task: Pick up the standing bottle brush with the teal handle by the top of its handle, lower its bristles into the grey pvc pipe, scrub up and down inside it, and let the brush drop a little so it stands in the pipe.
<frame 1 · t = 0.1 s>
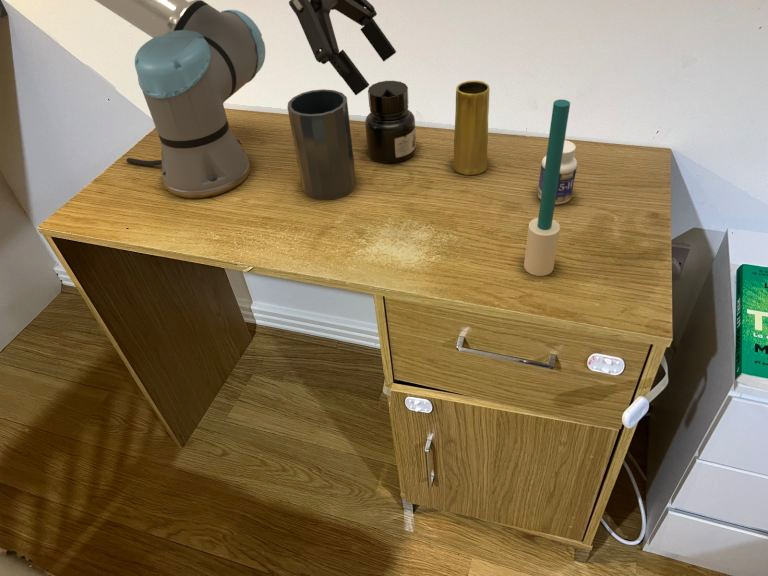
hand: (377, 72, 97), 15 cm above the table, tool tilted 35°, fingers open, 13 cm apart
grey pvc pipe: (329, 185, 101), on the table
ink bottle: (392, 152, 108), on the table
vase: (470, 167, 103), on the table
pill bottle: (554, 197, 94), on the table
brush: (538, 266, 82), on the table
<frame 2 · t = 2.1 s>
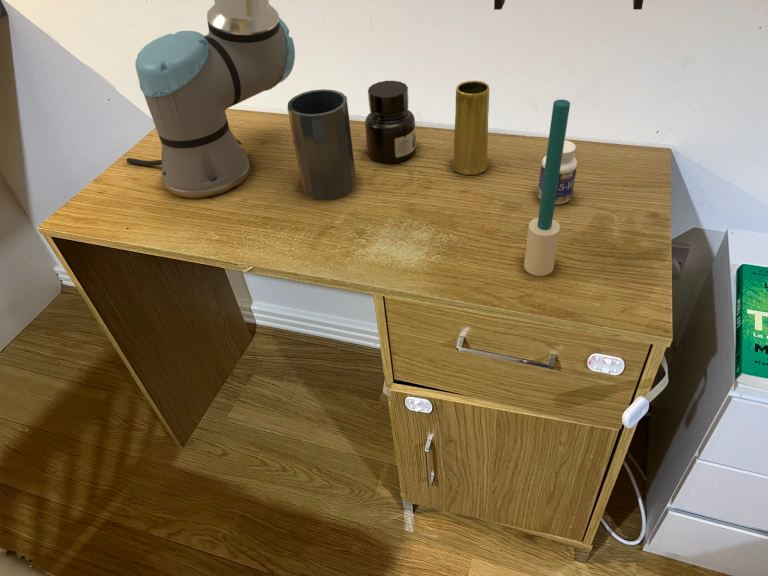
hand: (566, 5, 61), 34 cm above the table, tool pointing down, fingers open, 13 cm apart
nothing on the table moved.
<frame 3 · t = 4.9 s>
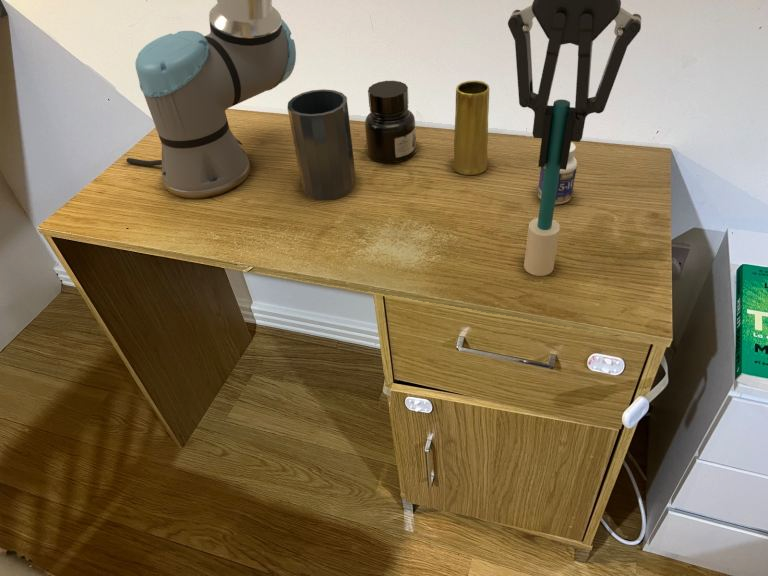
hand: (553, 162, 71), 16 cm above the table, tool pointing down, fingers closed on brush, 2 cm apart
brush: (538, 266, 82), on the table, touching gripper
everything else where it was.
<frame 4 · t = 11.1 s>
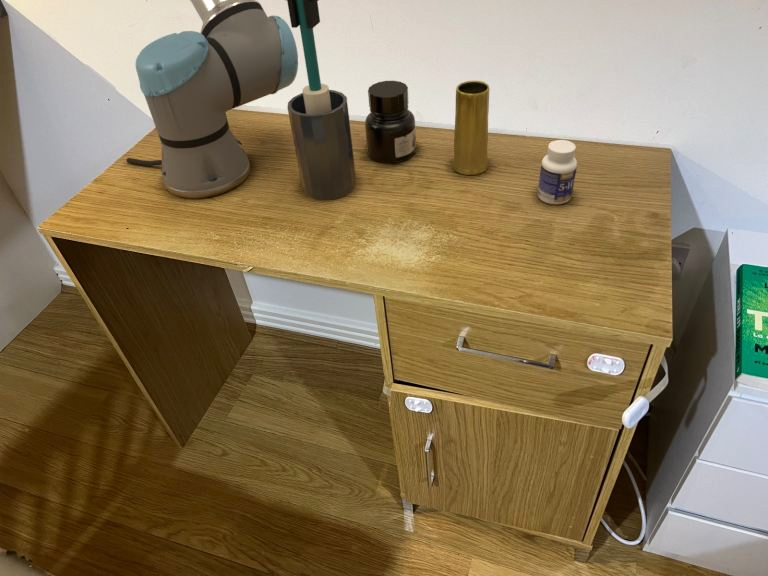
hand: (305, 24, 83), 27 cm above the table, tool pointing down, fingers closed on brush, 2 cm apart
brush: (321, 130, 94), point 10 cm above the table, touching gripper
everything else where it was.
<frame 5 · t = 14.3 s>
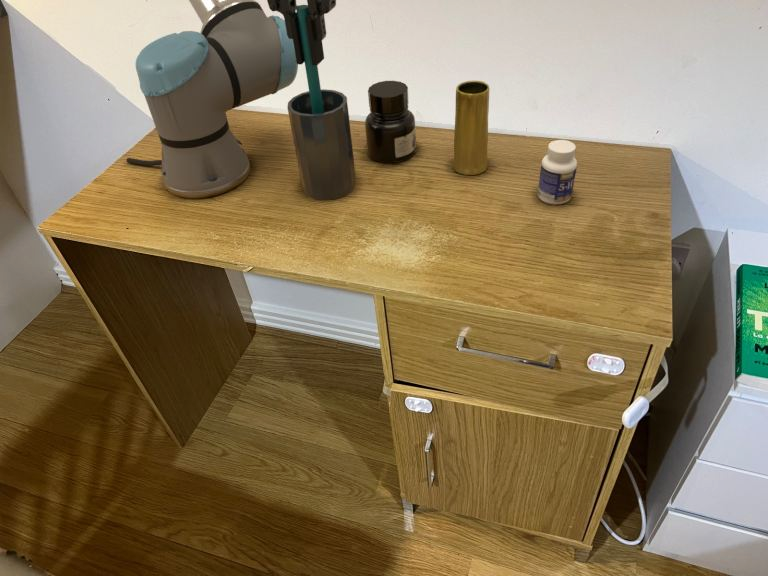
hand: (310, 61, 87), 21 cm above the table, tool pointing down, fingers closed on brush, 2 cm apart
brush: (325, 159, 98), point 5 cm above the table, touching gripper
everything else where it was.
when the fingers open (18 cm above the table, at t = 17.1 s): brush stays where it is, resting on grey pvc pipe.
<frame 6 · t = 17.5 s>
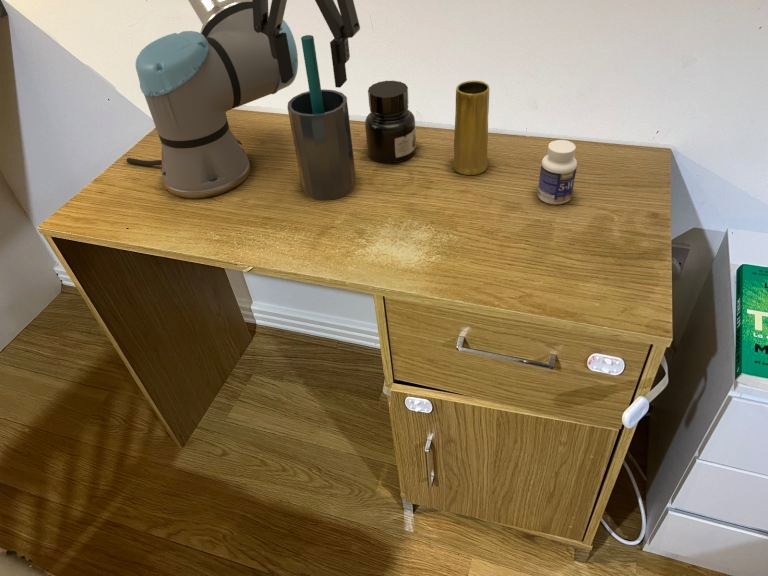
hand: (314, 81, 89), 18 cm above the table, tool pointing down, fingers open, 8 cm apart
brush: (328, 181, 101), point 1 cm above the table, touching grey pvc pipe
everything else where it was.
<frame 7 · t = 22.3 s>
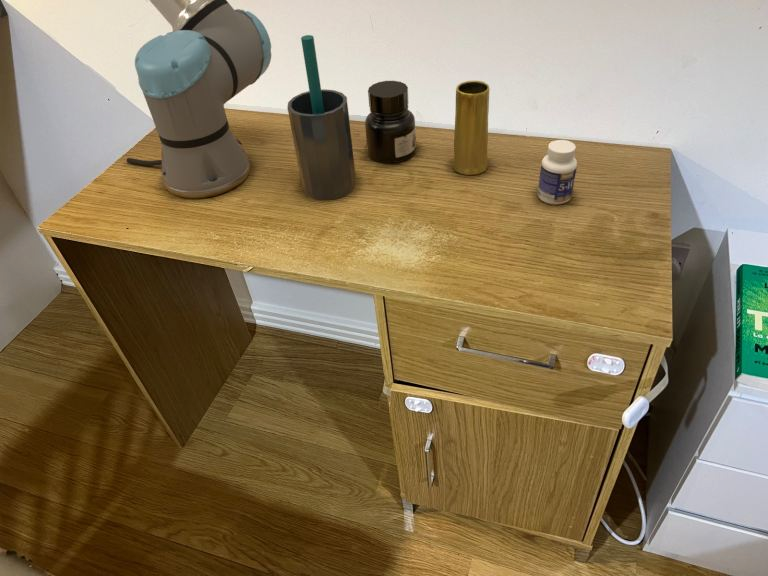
nothing on the table moved.
at the end: brush 0.0 cm off-centre in the grey pvc pipe, point 0.8 cm above the grey pvc pipe's base; brush tilted 0°; the gripper is holding nothing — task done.
